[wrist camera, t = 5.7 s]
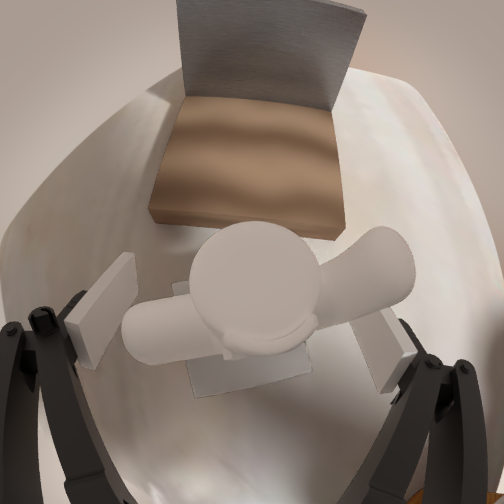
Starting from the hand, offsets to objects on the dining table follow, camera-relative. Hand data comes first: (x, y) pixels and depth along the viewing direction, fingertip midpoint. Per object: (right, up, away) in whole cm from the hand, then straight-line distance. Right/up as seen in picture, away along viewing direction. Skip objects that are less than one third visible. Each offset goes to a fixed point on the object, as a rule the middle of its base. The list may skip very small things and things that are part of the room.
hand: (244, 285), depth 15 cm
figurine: (-1, -4, +4) cm, 6 cm away
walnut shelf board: (0, +10, +9) cm, 14 cm away
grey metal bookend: (+1, +18, +9) cm, 20 cm away
